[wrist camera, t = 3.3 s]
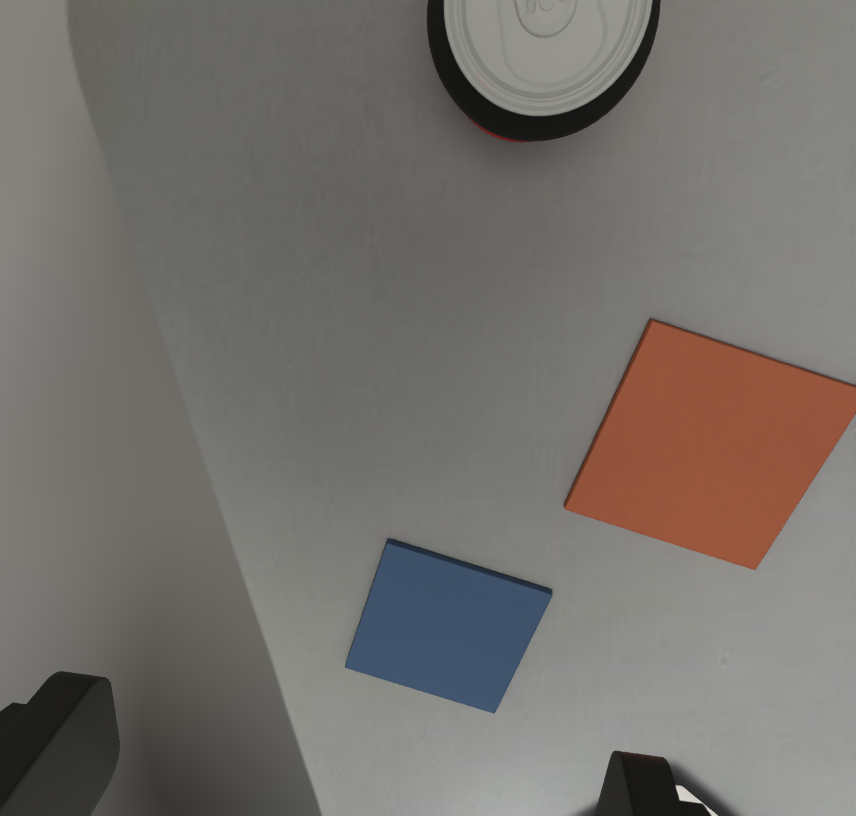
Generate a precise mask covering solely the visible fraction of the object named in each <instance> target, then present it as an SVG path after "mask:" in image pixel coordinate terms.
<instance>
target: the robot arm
mask: <svg viewBox="0 0 856 816" xmlns="http://www.w3.org/2000/svg"><path fill="white" fill-rule="evenodd" d="M119 751H120V740H119V734H118V727H117V721H116V714H115V707H114V701H113V694H112V688H111V683H110V681H109V680H108V679H107V678H105V677H99V676H92V675H84V674H78V673H71V672H63V671H60V672H56V673H55V674H53V675H52V676H50V677H49V678H48V679H47V681H45V683H44V684H43V685H42V686H41V687H40V689H39V690H38V691H37V692H36V693H35V695H34V696H33V697H32V698H31V699H30V701H29V702H28V703H27V704H19V703H12V704H10V705H9V706H7V707H6V708H4V709H3V710H2V711H1V712H0V816H91V814H92V812H93V811H94V808H95V807H96V805H97V804H98V802H99V801H100V799H101V797H102V795H103V794H104V792H105V791H106V789H107V787H108V785H109V783H110V781H111V779H112V777H113V774H114V772H115V769H116V765H117V762H118V757H119ZM595 816H711V814H710V813H709V811H708V810H707V809H706V807H705V806H704V804H702V803H695V802H688V801H681V800H679V796H678V793H677V789H676V785H675V782H674V778H673V775H672V772H671V769H670V766H669V764H668V762H667V760H666V759H665V758H663V757H657V756H650V755H643V754H636V753H629V752H622V751H614V752H613V753H612V755H611V758H610V761H609V765H608V768H607V772H606V776H605V779H604V783H603V786H602V790H601V794H600V797H599V801H598V805H597V808H596V812H595Z"/></svg>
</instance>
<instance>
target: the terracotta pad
mask: <svg viewBox="0 0 856 816" xmlns="http://www.w3.org/2000/svg"><path fill="white" fill-rule="evenodd" d="M855 414H856V386H854V385H851V384H848V383H845V382H842V381H839V380H836V379H833V378H830V377H827V376H824V375H821V374H817V373H814V372H811V371H808V370H805V369H802V368H799V367H796V366H793V365H790V364H787V363H784V362H781V361H778V360H775V359H772V358H769V357H766V356H763V355H760V354H757V353H754V352H751V351H748V350H745V349H742V348H739V347H735V346H732V345H729V344H726V343H723V342H720V341H717V340H714V339H711V338H708V337H705V336H702V335H699V334H696V333H693V332H690V331H687V330H684V329H681V328H678V327H675V326H672V325H669V324H666V323H663V322H660V321H657V320H653V319H650V320H649V322H648V324H647V327H646V329H645V331H644V333H643V335H642V337H641V340H640V342H639V344H638V346H637V348H636V350H635V353H634V355H633V357H632V359H631V361H630V363H629V365H628V368H627V370H626V372H625V374H624V376H623V378H622V381H621V383H620V385H619V387H618V389H617V391H616V393H615V396H614V398H613V400H612V402H611V404H610V406H609V409H608V411H607V413H606V415H605V417H604V419H603V422H602V424H601V426H600V428H599V430H598V432H597V434H596V437H595V439H594V441H593V443H592V445H591V447H590V450H589V452H588V454H587V456H586V458H585V460H584V463H583V465H582V467H581V469H580V471H579V473H578V475H577V478H576V480H575V482H574V484H573V486H572V488H571V491H570V493H569V495H568V497H567V499H566V501H565V503H564V508H565V510H568V511H571V512H574V513H577V514H581V515H584V516H587V517H590V518H593V519H596V520H599V521H603V522H606V523H609V524H612V525H615V526H618V527H621V528H625V529H628V530H631V531H634V532H637V533H640V534H643V535H647V536H650V537H653V538H656V539H659V540H662V541H665V542H669V543H672V544H675V545H678V546H681V547H684V548H687V549H691V550H694V551H697V552H700V553H703V554H706V555H709V556H712V557H716V558H719V559H722V560H725V561H728V562H731V563H734V564H738V565H741V566H744V567H747V568H750V569H753V570H756V568H757V567H758V565H759V564H760V562H761V560H762V559H763V557H764V556H765V554H766V553H767V551H768V550H769V548H770V546H771V545H772V543H773V542H774V540H775V539H776V537H777V535H778V534H779V532H780V531H781V529H782V528H783V526H784V525H785V523H786V521H787V520H788V518H789V517H790V515H791V514H792V512H793V511H794V509H795V507H796V506H797V504H798V503H799V501H800V500H801V498H802V497H803V495H804V493H805V492H806V490H807V489H808V487H809V486H810V484H811V482H812V481H813V479H814V478H815V476H816V475H817V473H818V472H819V470H820V468H821V467H822V465H823V464H824V462H825V461H826V459H827V458H828V456H829V454H830V453H831V451H832V450H833V448H834V447H835V445H836V444H837V442H838V440H839V439H840V437H841V436H842V434H843V433H844V431H845V429H846V428H847V426H848V425H849V423H850V422H851V420H852V419H853V417H854V415H855Z"/></svg>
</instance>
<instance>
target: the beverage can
mask: <svg viewBox="0 0 856 816" xmlns="http://www.w3.org/2000/svg"><path fill="white" fill-rule="evenodd" d="M660 1H661V0H428V6H427V30H428V39H429V45H430V50H431V54H432V58H433V61H434V64H435V67H436V70H437V72H438V75H439V77H440V79H441V81H442V83H443V85H444V87H445V89H446V90H447V92H448V93H449V95H450V96H451V98H452V99H453V100H454V102H455V103H456V104H457V105H458V106H459V108H460V109H461V110H462V111H463V112H464V113H465V114H466V115H467V117H468V118H469V119H470V120H471V121H472V122H473V123H474V124H475V125H477V126H478V127H479V128H480V129H482V130H483V131H485V132H486V133H488V134H490V135H492V136H494V137H497V138H499V139H503V140H506V141H512V142H532V141H545V140H551V139H557V138H561V137H564V136H568V135H570V134H573V133H575V132H578V131H580V130H582V129H584V128H586V127H588V126H589V125H591V124H593V123H594V122H596V121H597V120H599V119H600V118H601V117H603V116H604V115H605V114H607V113H608V112H609V111H610V110H611V109H612V108H613V107H615V106H616V105H617V103H618V102H619V101H620V100H621V99H622V98H623V97H624V96H625V95H626V93H627V92H628V91H629V89H630V88H631V87H632V85H633V84H634V82H635V81H636V79H637V78H638V76H639V74H640V72H641V71H642V69H643V67H644V65H645V63H646V61H647V58H648V56H649V54H650V51H651V48H652V45H653V42H654V39H655V35H656V31H657V27H658V20H659V14H660Z"/></svg>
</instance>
